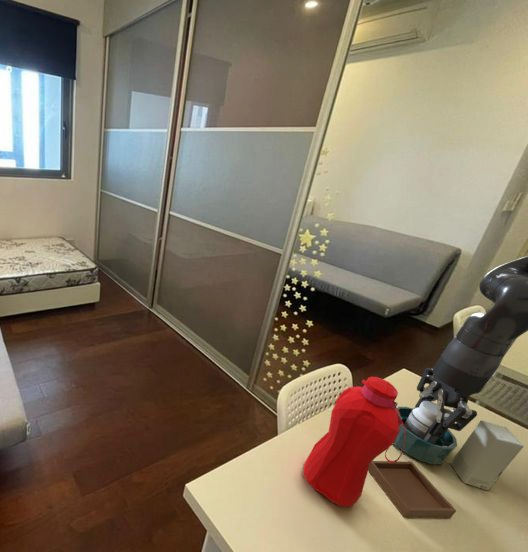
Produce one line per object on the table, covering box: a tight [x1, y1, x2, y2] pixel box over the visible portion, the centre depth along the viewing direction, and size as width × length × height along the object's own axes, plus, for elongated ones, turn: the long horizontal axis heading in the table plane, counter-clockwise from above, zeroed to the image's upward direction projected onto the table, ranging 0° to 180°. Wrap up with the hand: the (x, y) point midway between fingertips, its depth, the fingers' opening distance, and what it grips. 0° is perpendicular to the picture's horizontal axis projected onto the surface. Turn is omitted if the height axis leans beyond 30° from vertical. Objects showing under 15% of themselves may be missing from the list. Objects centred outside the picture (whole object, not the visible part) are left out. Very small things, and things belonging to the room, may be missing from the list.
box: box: [450, 419, 525, 491], centre depth 65 cm, size 5×4×13 cm
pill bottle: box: [404, 401, 449, 444], centre depth 71 cm, size 6×6×10 cm
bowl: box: [393, 406, 458, 465], centre depth 73 cm, size 11×11×6 cm
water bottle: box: [303, 376, 406, 508], centre depth 57 cm, size 9×11×25 cm
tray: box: [368, 460, 457, 519], centre depth 62 cm, size 10×10×2 cm
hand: (426, 423), depth 71 cm, fingers closed on pill bottle, 5 cm apart
